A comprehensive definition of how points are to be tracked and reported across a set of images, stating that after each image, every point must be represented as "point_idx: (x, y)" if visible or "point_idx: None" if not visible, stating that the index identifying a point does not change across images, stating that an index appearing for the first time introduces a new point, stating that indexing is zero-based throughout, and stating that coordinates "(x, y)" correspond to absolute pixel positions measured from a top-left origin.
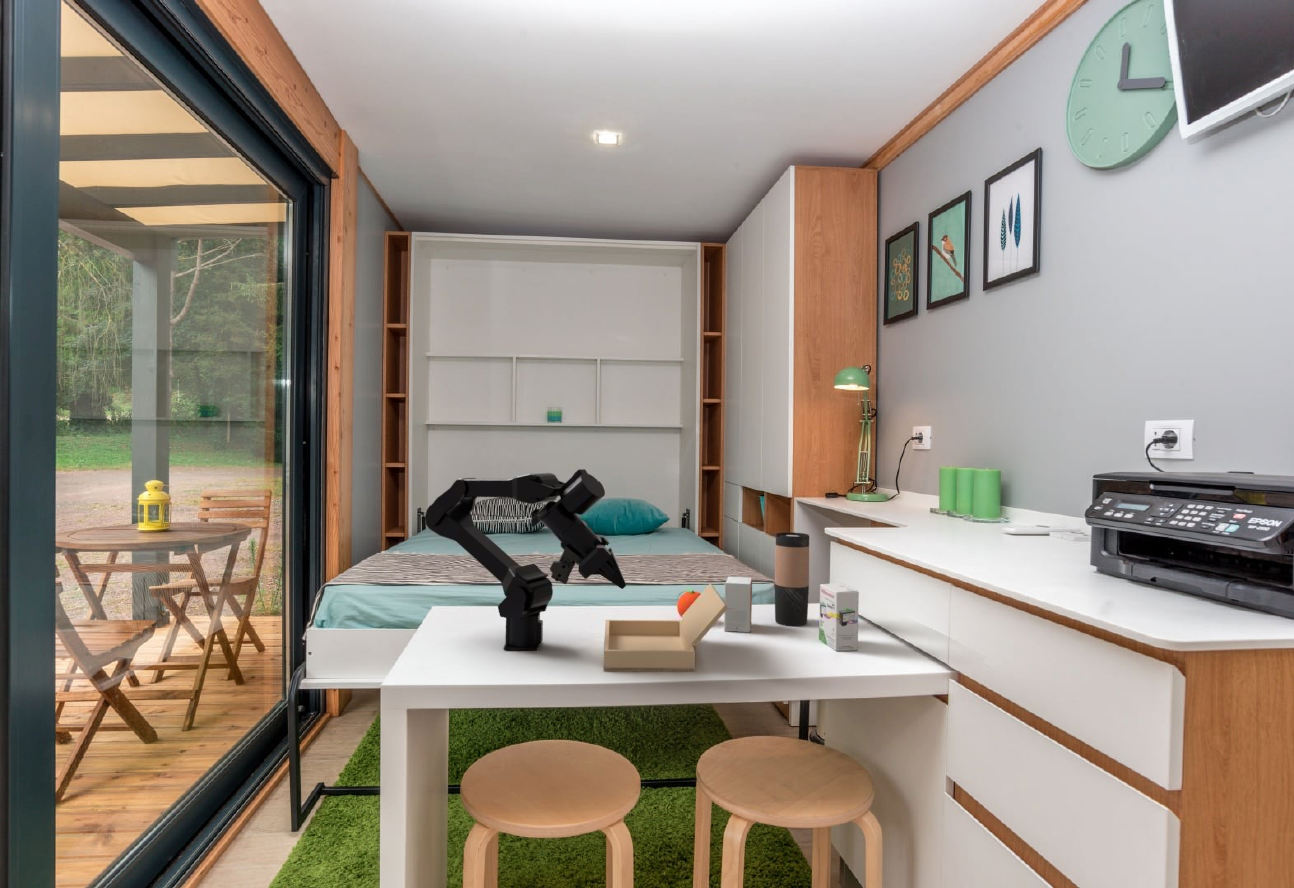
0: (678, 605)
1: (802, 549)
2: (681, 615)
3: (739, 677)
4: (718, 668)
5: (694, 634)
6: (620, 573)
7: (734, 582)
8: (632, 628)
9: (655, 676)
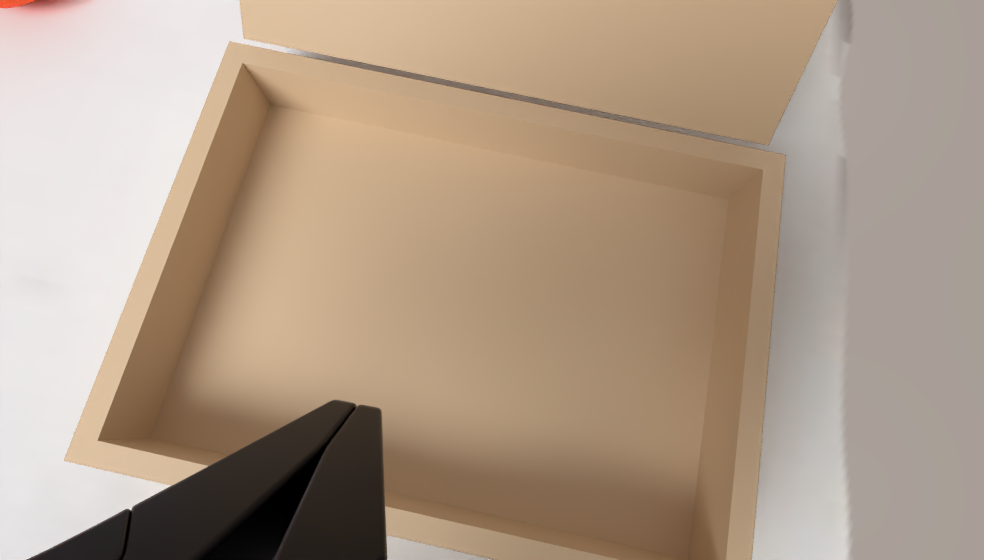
0: None
1: None
2: (6, 2)
3: (820, 65)
4: None
5: (710, 98)
6: (385, 519)
7: None
8: (177, 308)
9: (790, 361)
